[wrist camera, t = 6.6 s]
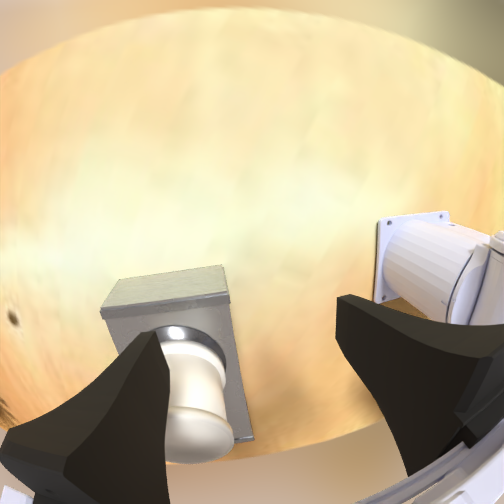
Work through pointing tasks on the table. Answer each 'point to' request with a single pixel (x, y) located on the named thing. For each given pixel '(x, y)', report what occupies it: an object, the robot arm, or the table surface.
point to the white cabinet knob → (195, 404)
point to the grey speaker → (183, 324)
